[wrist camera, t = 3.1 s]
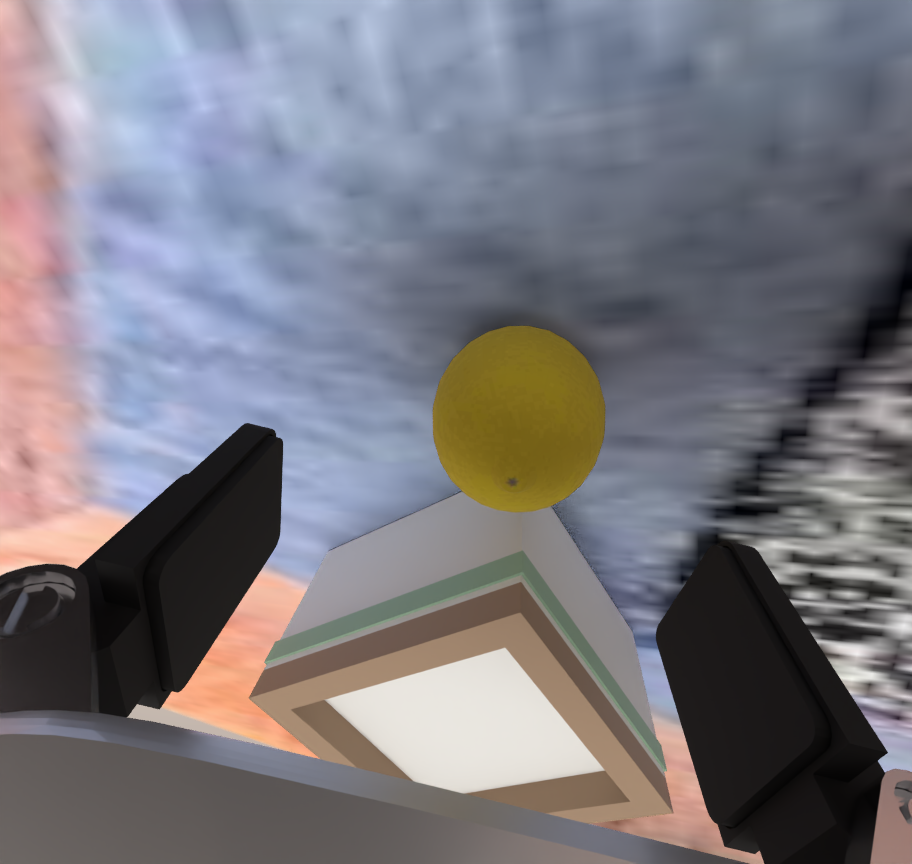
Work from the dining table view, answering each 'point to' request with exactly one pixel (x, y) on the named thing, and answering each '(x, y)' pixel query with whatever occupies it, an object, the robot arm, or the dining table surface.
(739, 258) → the dining table surface
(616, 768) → the stand
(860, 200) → the dining table surface
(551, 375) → the lemon
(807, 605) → the dining table surface
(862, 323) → the dining table surface
